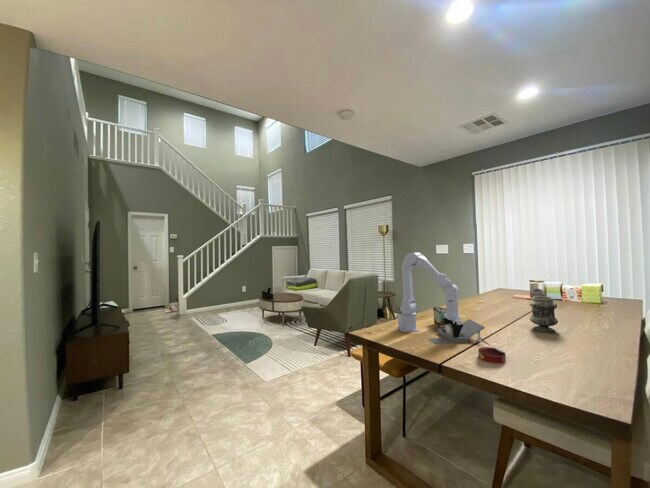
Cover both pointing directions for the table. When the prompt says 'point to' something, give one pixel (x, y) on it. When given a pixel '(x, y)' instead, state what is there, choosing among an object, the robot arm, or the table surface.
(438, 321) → the food container
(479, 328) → the case
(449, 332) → the module
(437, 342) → the pad
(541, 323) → the dark ornate urn
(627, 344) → the table surface
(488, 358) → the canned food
